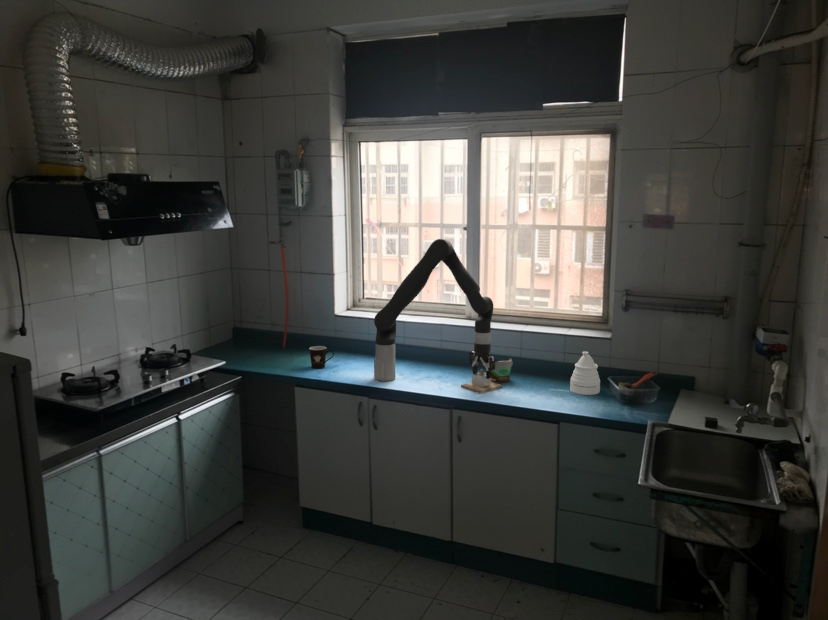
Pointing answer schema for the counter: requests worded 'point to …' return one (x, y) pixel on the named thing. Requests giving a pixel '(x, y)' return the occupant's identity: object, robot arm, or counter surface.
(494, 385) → the block
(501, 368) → the food container
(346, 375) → the counter surface
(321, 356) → the coffee mug
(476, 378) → the grey square sleeve
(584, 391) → the honey pot
